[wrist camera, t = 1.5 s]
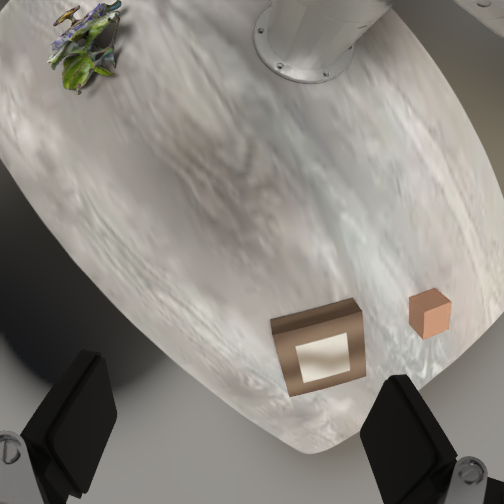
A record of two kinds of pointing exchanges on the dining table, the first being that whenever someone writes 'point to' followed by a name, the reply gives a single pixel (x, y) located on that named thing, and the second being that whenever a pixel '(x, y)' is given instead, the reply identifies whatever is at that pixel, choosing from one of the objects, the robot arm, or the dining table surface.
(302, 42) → the robot arm
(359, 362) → the walnut frame
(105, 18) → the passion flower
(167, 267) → the dining table surface
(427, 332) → the terracotta cube
